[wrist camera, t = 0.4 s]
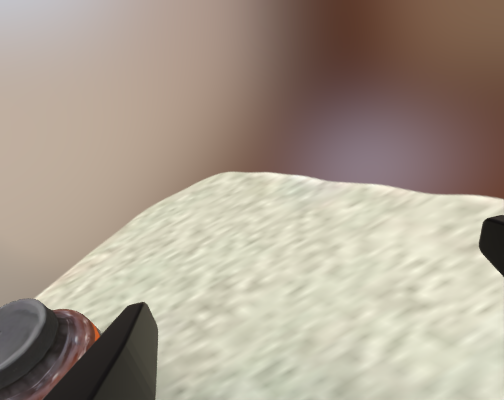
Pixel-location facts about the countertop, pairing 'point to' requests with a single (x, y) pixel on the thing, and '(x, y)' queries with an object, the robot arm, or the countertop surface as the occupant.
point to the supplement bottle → (39, 347)
